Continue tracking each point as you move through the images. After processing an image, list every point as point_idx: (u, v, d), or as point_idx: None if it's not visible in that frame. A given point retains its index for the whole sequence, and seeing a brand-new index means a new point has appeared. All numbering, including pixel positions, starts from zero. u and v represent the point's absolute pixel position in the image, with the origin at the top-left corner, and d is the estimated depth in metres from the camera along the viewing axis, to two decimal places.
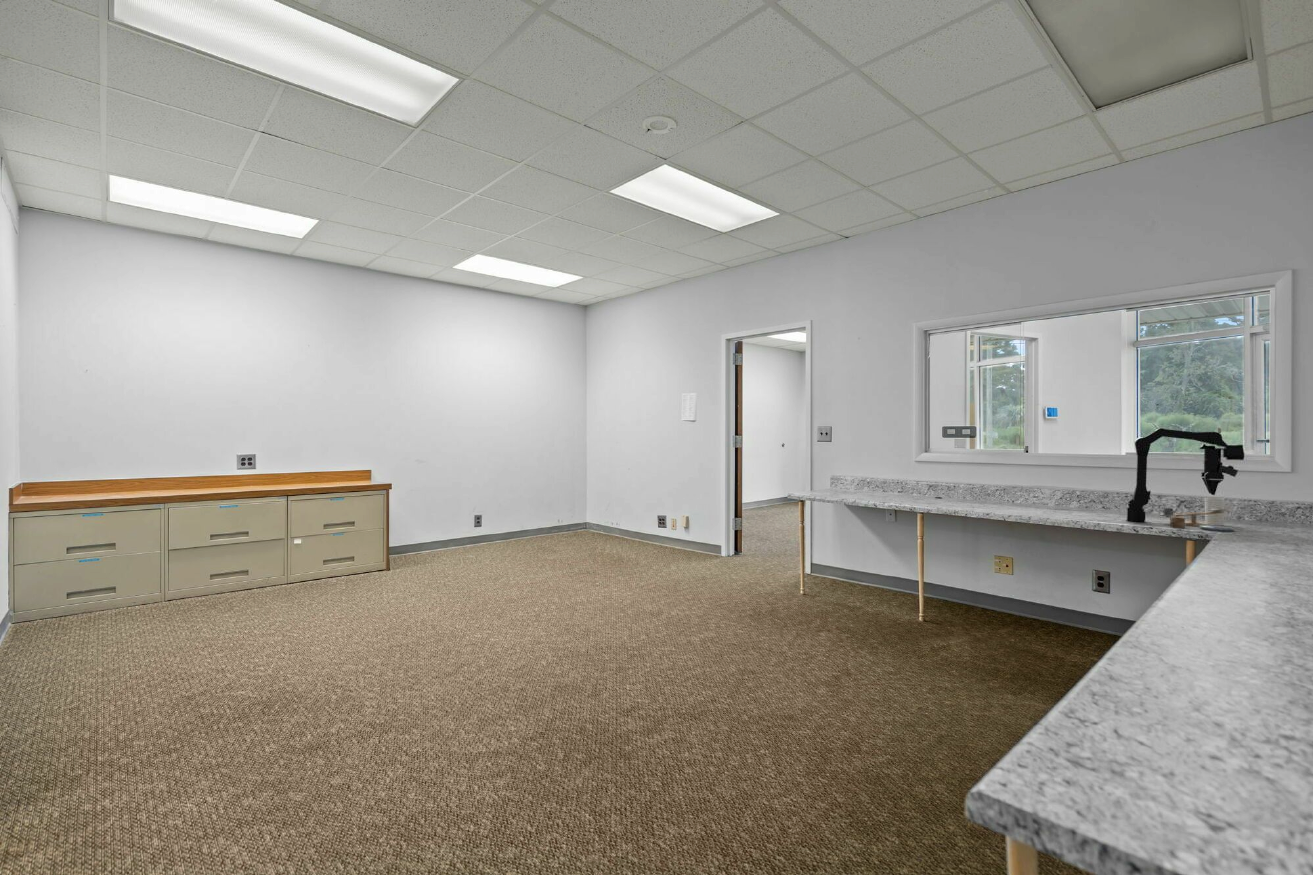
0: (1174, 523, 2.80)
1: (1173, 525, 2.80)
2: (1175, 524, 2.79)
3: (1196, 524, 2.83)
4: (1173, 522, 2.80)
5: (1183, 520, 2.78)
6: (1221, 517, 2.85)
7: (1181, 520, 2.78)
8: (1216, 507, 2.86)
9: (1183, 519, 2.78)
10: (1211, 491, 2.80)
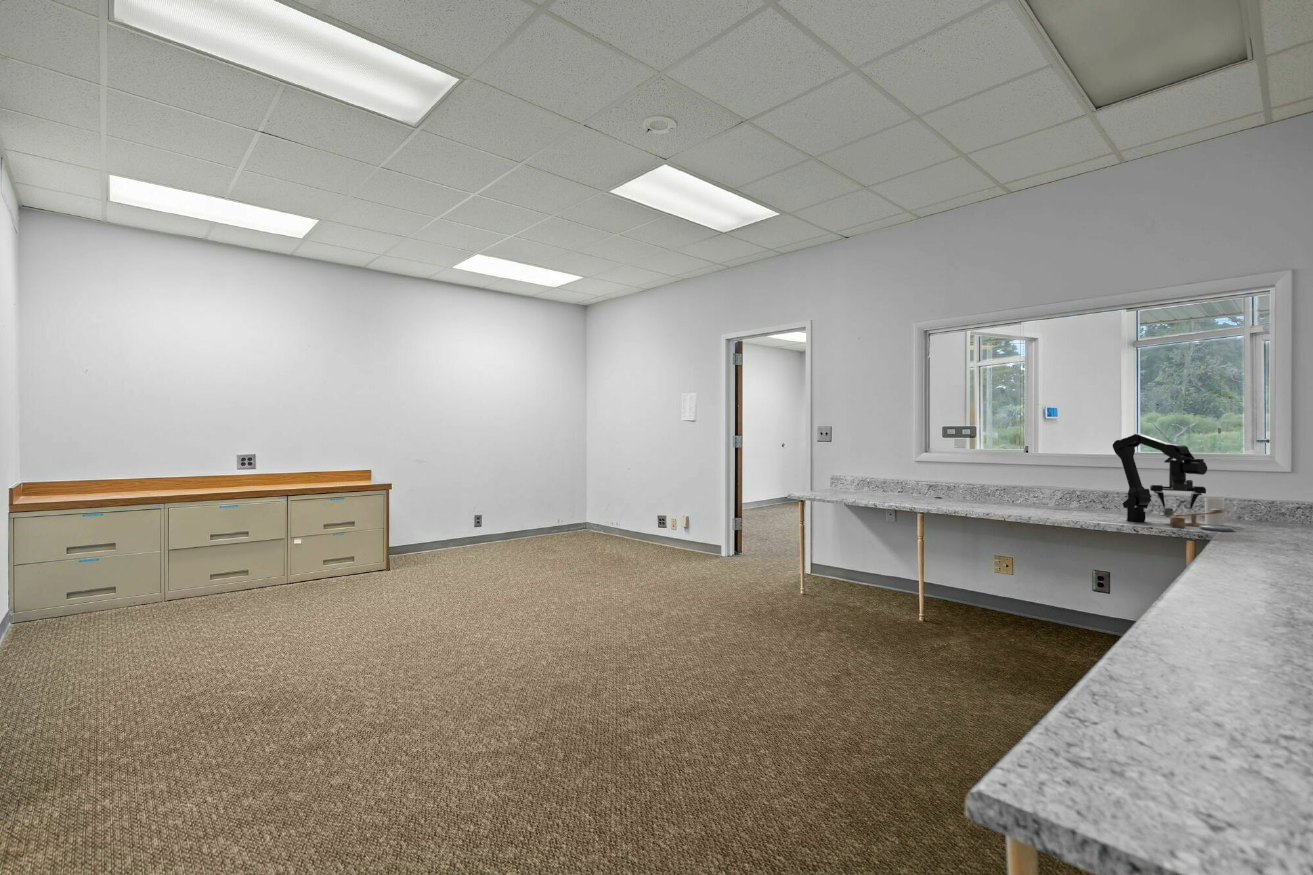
0: (1174, 523, 2.80)
1: (1173, 525, 2.80)
2: (1175, 524, 2.79)
3: (1196, 524, 2.83)
4: (1173, 522, 2.80)
5: (1183, 520, 2.78)
6: (1221, 517, 2.85)
7: (1181, 520, 2.78)
8: (1216, 507, 2.86)
9: (1183, 519, 2.78)
10: (1162, 503, 2.84)
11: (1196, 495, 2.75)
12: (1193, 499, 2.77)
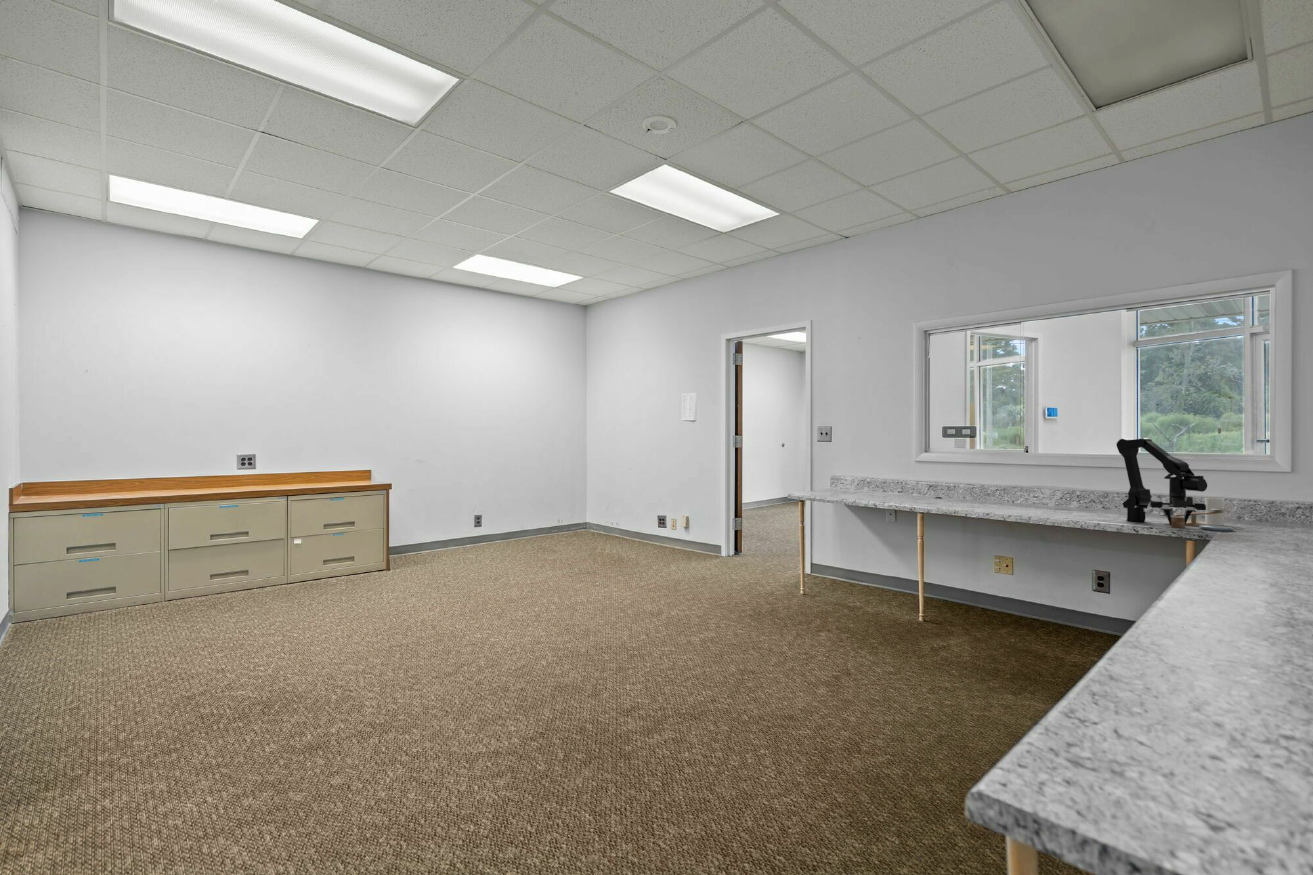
0: (1174, 523, 2.80)
1: (1173, 525, 2.80)
2: (1175, 523, 2.79)
3: (1196, 524, 2.83)
4: (1173, 522, 2.80)
5: (1183, 520, 2.78)
6: (1221, 517, 2.85)
7: (1181, 520, 2.78)
8: (1216, 507, 2.86)
9: (1183, 519, 2.78)
10: (1168, 520, 2.83)
11: (1190, 511, 2.76)
12: (1187, 515, 2.78)
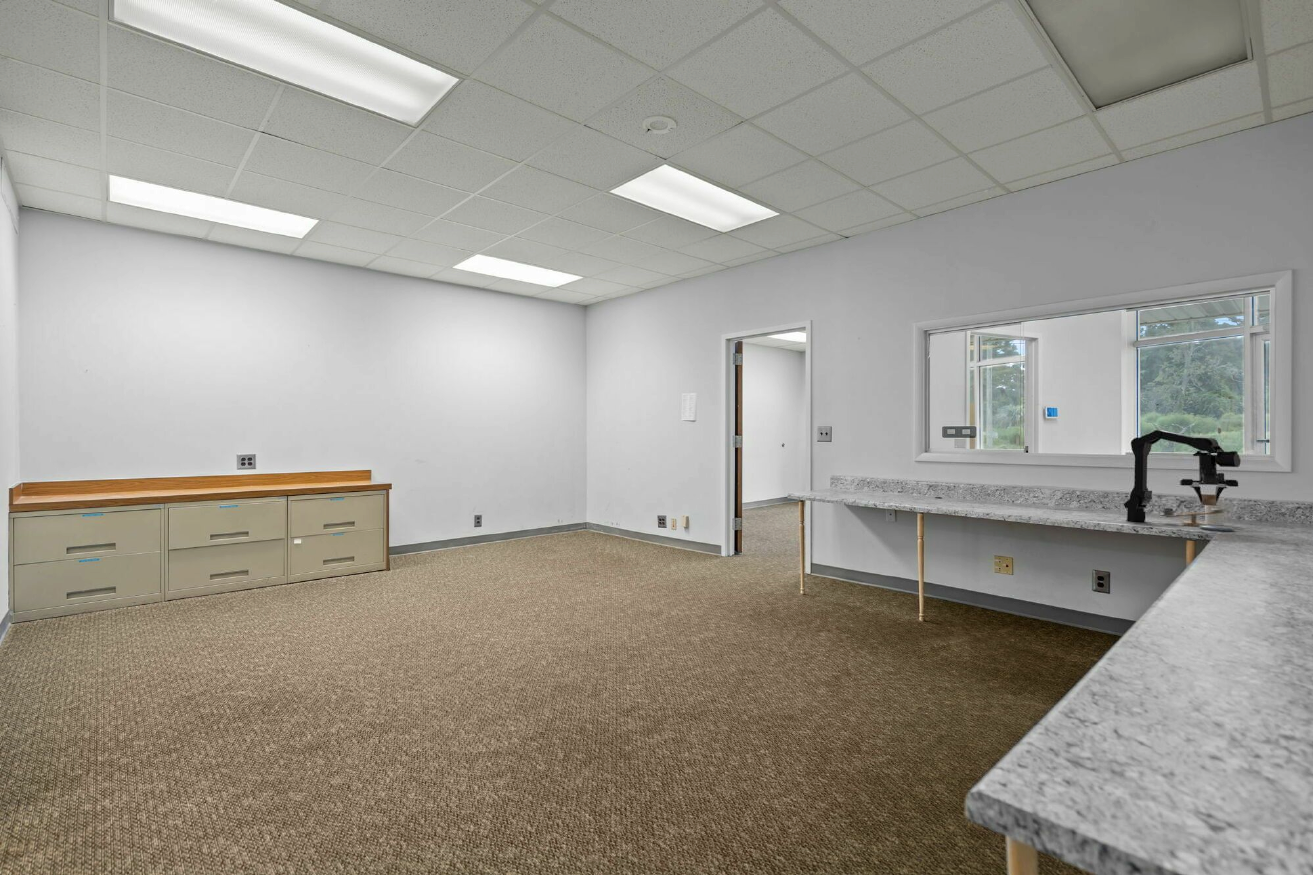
0: (1205, 501, 2.73)
1: (1204, 503, 2.73)
2: (1206, 501, 2.73)
3: (1196, 524, 2.83)
4: (1204, 499, 2.73)
5: (1214, 497, 2.71)
6: (1221, 517, 2.85)
7: (1213, 497, 2.72)
8: (1216, 507, 2.86)
9: (1214, 496, 2.71)
10: (1199, 498, 2.76)
11: (1221, 488, 2.70)
12: (1218, 492, 2.71)
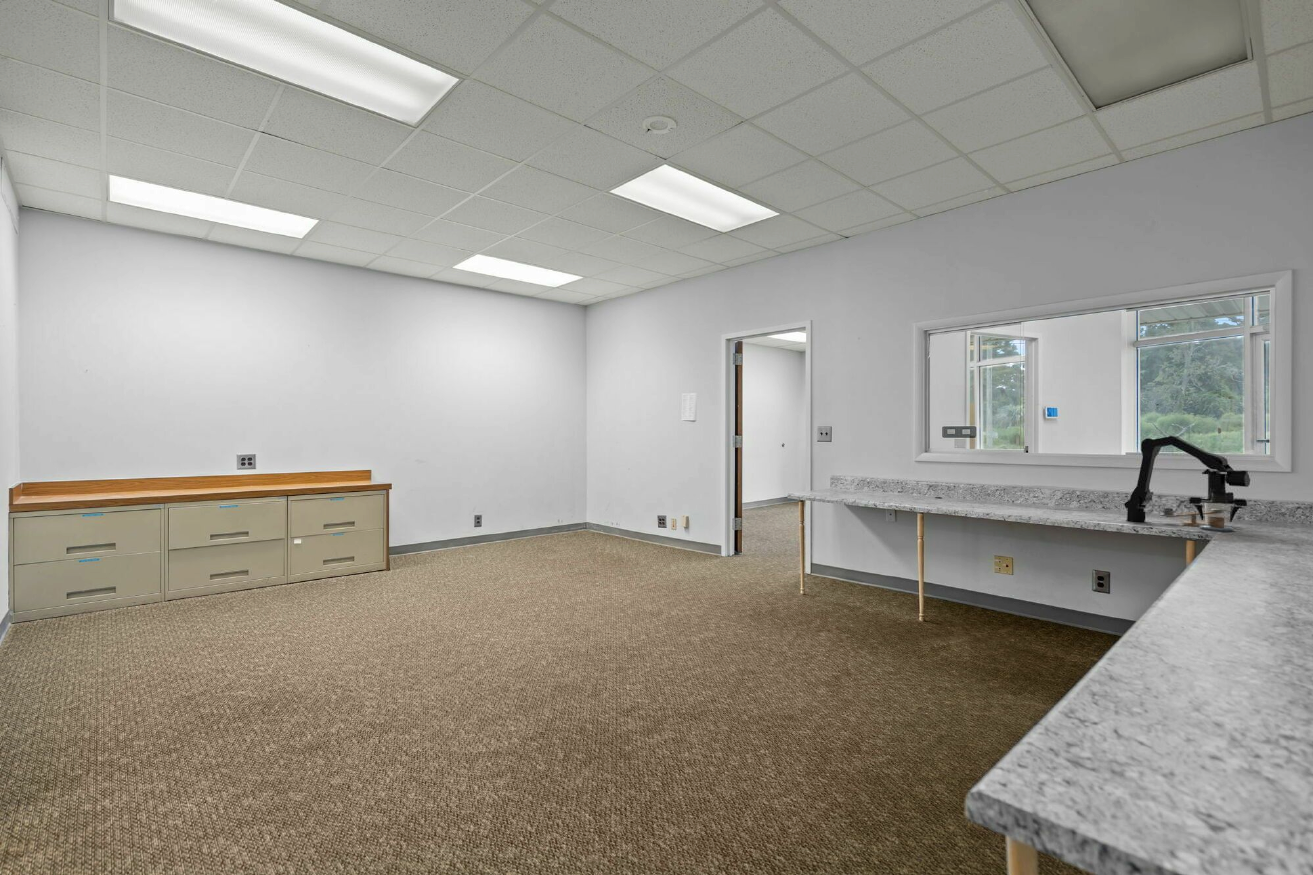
0: (1213, 523, 2.72)
1: (1212, 525, 2.72)
2: (1214, 523, 2.71)
3: (1196, 524, 2.83)
4: (1212, 522, 2.72)
5: (1222, 519, 2.70)
6: None
7: (1221, 519, 2.70)
8: (1216, 507, 2.86)
9: (1222, 518, 2.70)
10: (1200, 516, 2.76)
11: (1236, 508, 2.67)
12: (1233, 512, 2.69)
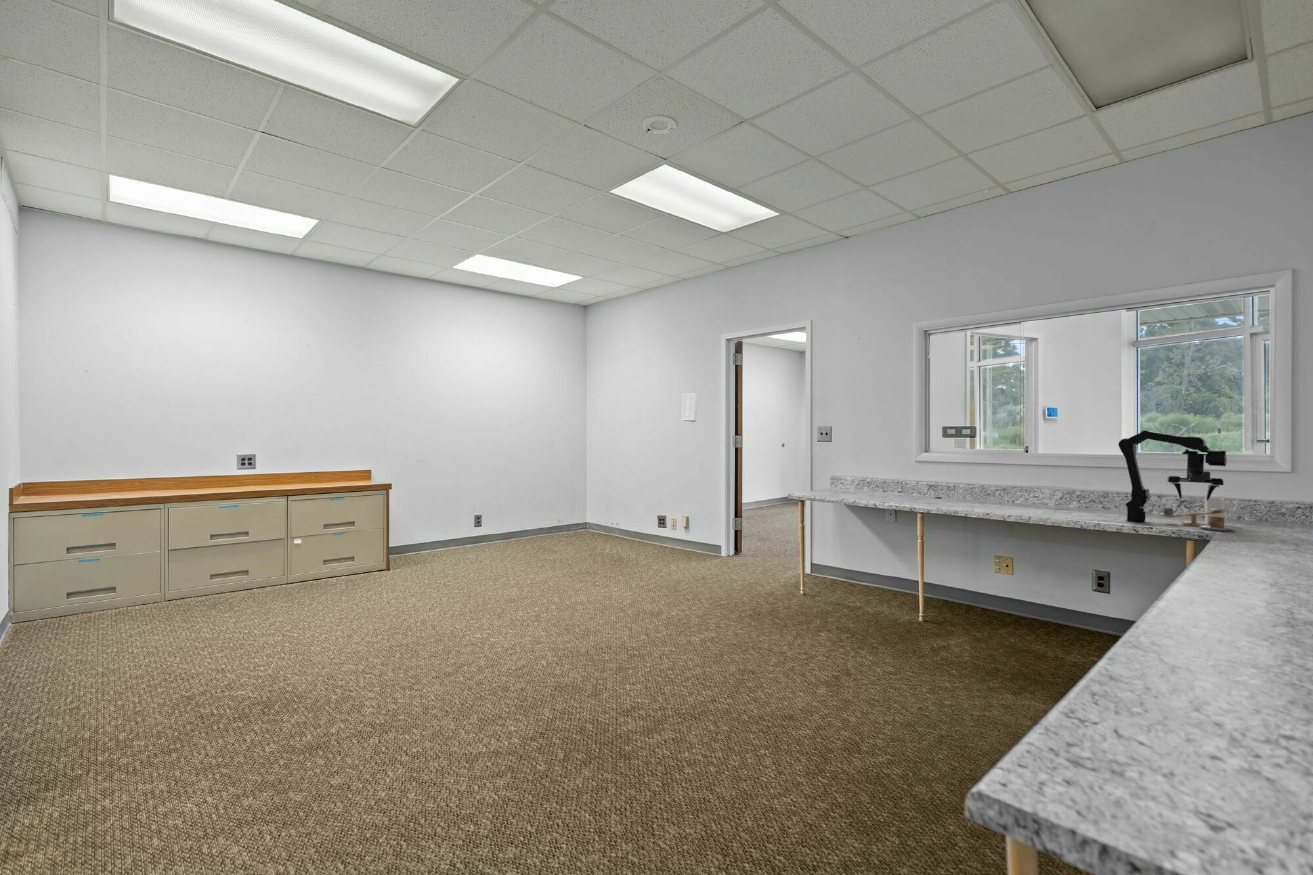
0: (1213, 523, 2.72)
1: (1212, 525, 2.72)
2: (1214, 523, 2.71)
3: (1196, 524, 2.83)
4: (1212, 522, 2.72)
5: (1222, 519, 2.70)
6: None
7: (1221, 519, 2.70)
8: (1216, 507, 2.86)
9: (1222, 518, 2.70)
10: None
11: (1213, 487, 2.78)
12: (1210, 491, 2.79)
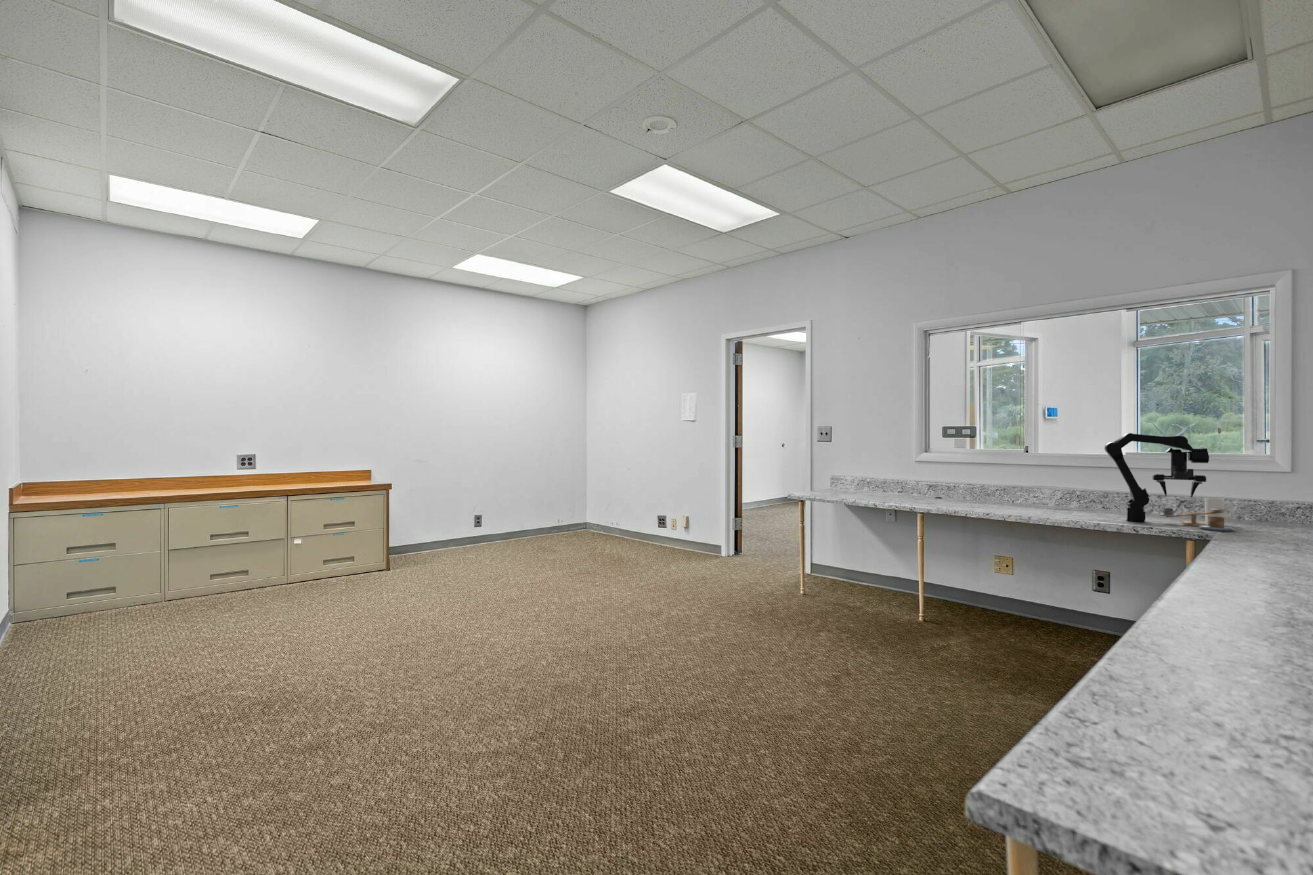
0: (1213, 523, 2.72)
1: (1212, 525, 2.72)
2: (1214, 523, 2.71)
3: (1196, 524, 2.83)
4: (1212, 522, 2.72)
5: (1222, 519, 2.70)
6: None
7: (1221, 519, 2.70)
8: (1216, 507, 2.86)
9: (1222, 518, 2.70)
10: (1164, 492, 2.95)
11: (1197, 483, 2.86)
12: (1194, 487, 2.87)
